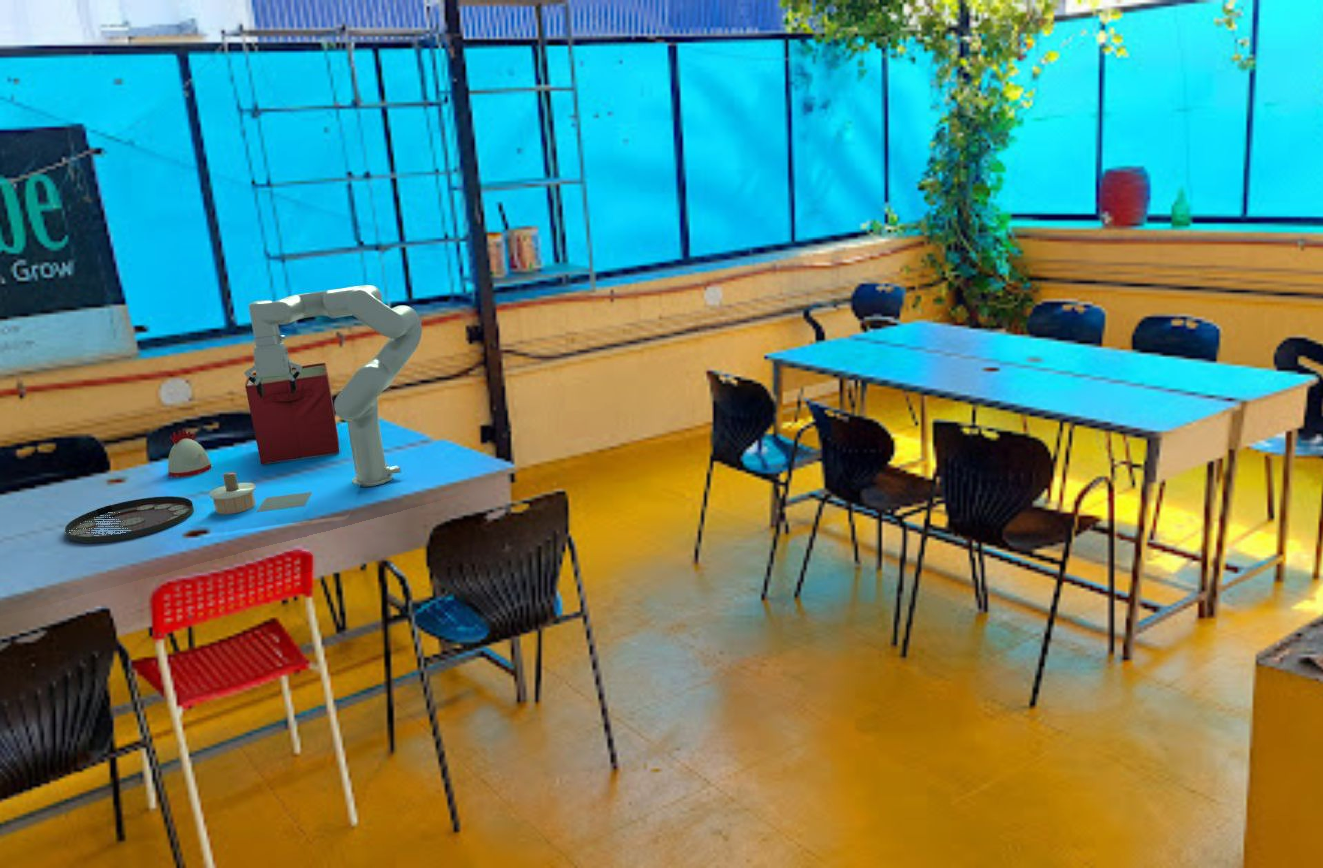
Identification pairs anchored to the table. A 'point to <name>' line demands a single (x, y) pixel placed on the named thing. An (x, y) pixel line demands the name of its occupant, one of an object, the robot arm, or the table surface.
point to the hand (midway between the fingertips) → (278, 394)
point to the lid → (232, 488)
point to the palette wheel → (131, 519)
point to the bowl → (234, 504)
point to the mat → (284, 501)
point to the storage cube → (294, 416)
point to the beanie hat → (187, 456)
